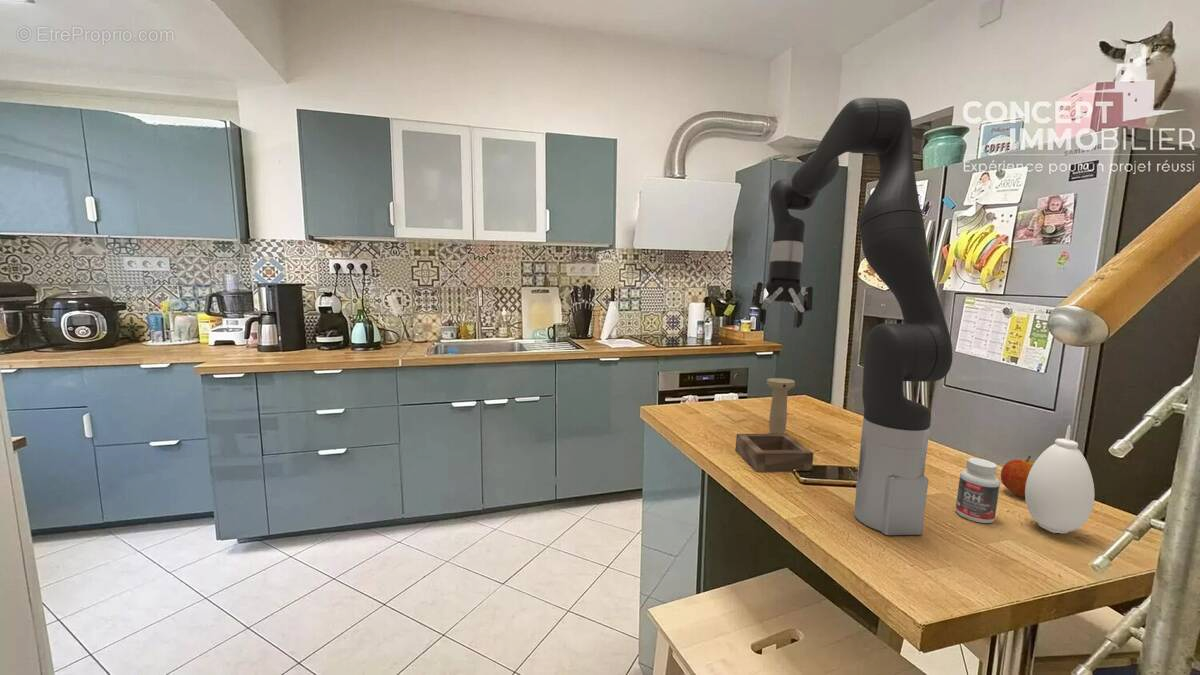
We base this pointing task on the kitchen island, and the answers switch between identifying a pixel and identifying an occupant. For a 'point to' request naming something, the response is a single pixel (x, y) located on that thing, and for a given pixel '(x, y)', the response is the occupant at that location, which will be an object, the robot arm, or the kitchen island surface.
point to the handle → (779, 403)
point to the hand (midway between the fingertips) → (779, 326)
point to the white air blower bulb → (1060, 487)
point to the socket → (773, 452)
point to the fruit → (1016, 475)
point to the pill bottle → (978, 491)
